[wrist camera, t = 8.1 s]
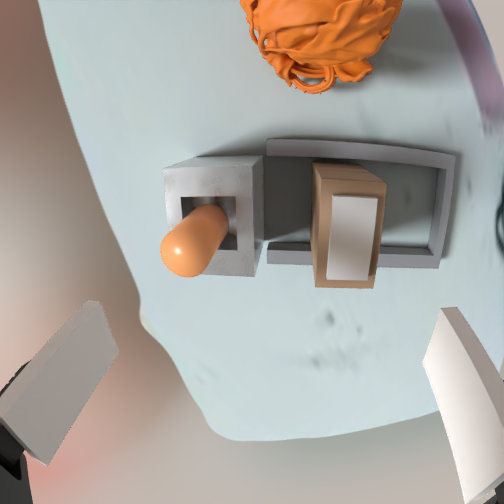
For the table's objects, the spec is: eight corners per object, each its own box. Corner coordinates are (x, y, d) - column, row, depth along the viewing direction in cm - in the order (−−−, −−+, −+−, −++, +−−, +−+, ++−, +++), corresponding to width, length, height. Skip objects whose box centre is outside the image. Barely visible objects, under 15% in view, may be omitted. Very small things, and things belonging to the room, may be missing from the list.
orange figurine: (389, 53, 22) (486, -8, 6) (315, 119, 27) (348, 108, 10) (306, -18, 20) (312, -132, 4) (232, 45, 24) (155, -35, 8)
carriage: (312, 161, 28) (322, 180, 18) (357, 164, 27) (389, 184, 18) (309, 238, 31) (315, 291, 22) (352, 240, 31) (374, 292, 21)
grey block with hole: (194, 157, 30) (162, 168, 22) (262, 155, 29) (252, 165, 21) (200, 239, 33) (174, 272, 26) (264, 241, 32) (254, 276, 25)
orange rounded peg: (188, 203, 23) (157, 229, 18) (228, 203, 23) (207, 229, 17) (191, 241, 25) (164, 275, 19) (230, 242, 24) (211, 278, 19)
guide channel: (267, 138, 28) (266, 139, 26) (447, 153, 25) (455, 155, 24) (268, 255, 33) (267, 263, 31) (431, 260, 30) (438, 268, 29)
